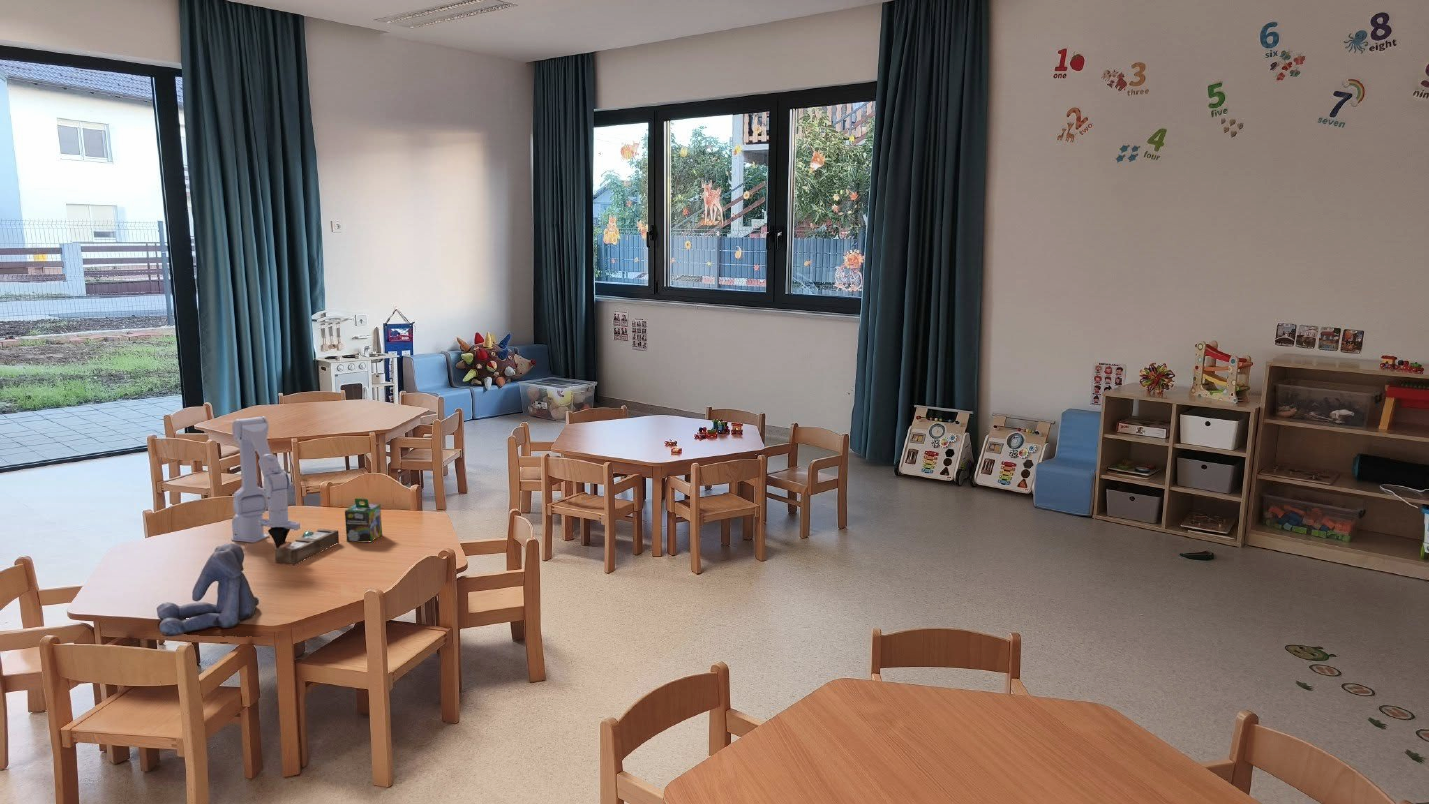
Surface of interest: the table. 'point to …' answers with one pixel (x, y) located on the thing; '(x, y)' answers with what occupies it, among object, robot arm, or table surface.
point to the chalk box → (363, 521)
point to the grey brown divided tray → (306, 548)
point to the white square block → (291, 545)
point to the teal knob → (313, 535)
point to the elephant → (231, 598)
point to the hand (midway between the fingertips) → (280, 548)
